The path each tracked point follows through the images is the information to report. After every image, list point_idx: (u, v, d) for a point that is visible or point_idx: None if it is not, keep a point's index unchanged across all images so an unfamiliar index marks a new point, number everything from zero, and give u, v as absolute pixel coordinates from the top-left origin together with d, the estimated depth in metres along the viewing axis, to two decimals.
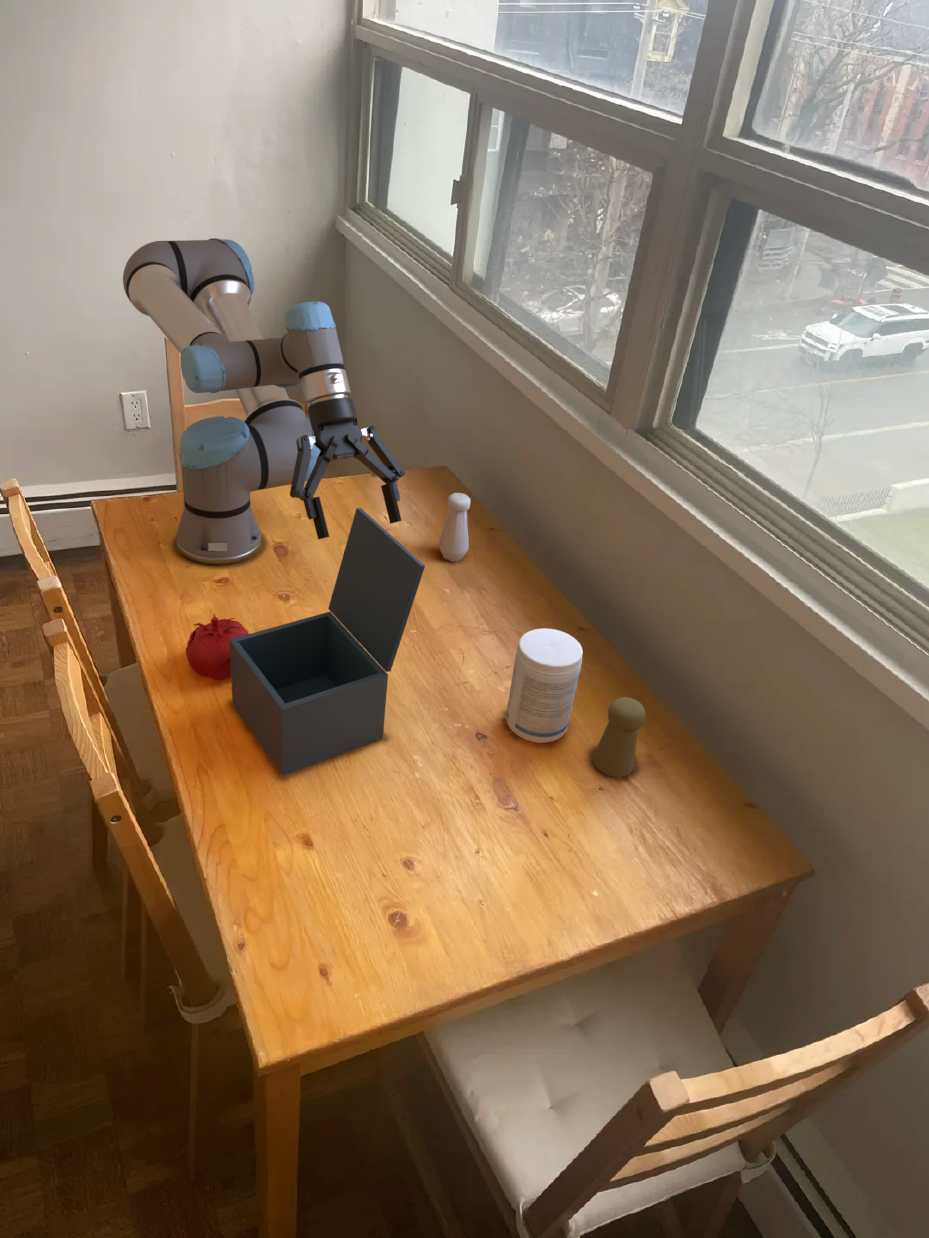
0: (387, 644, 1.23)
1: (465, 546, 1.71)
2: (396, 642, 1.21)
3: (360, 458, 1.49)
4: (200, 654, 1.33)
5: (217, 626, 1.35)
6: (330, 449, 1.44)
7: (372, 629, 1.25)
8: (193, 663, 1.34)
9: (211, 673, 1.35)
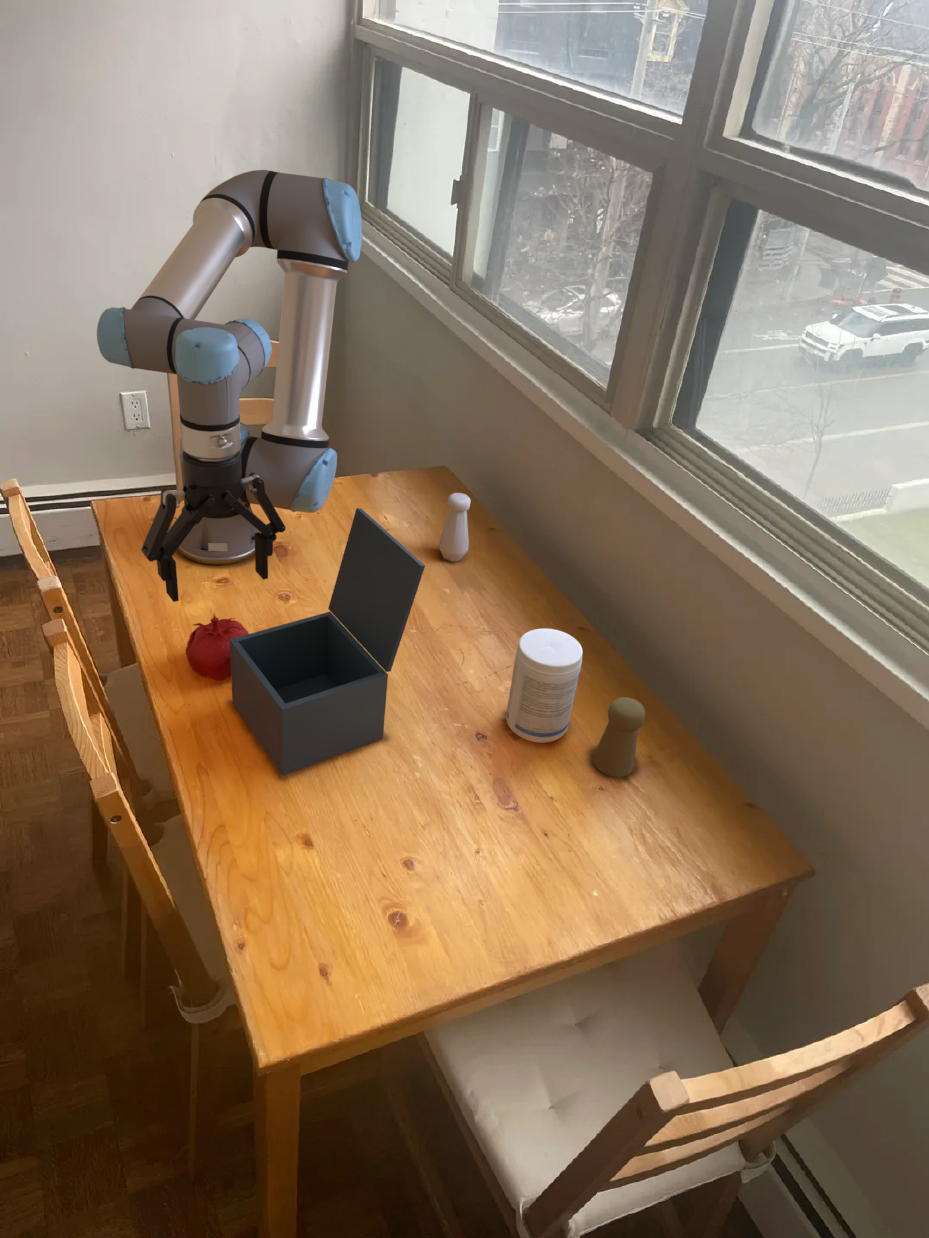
0: (387, 644, 1.23)
1: (465, 546, 1.71)
2: (396, 642, 1.21)
3: None
4: (200, 654, 1.33)
5: (217, 626, 1.35)
6: (200, 512, 1.21)
7: (372, 629, 1.25)
8: (193, 663, 1.34)
9: (211, 673, 1.35)
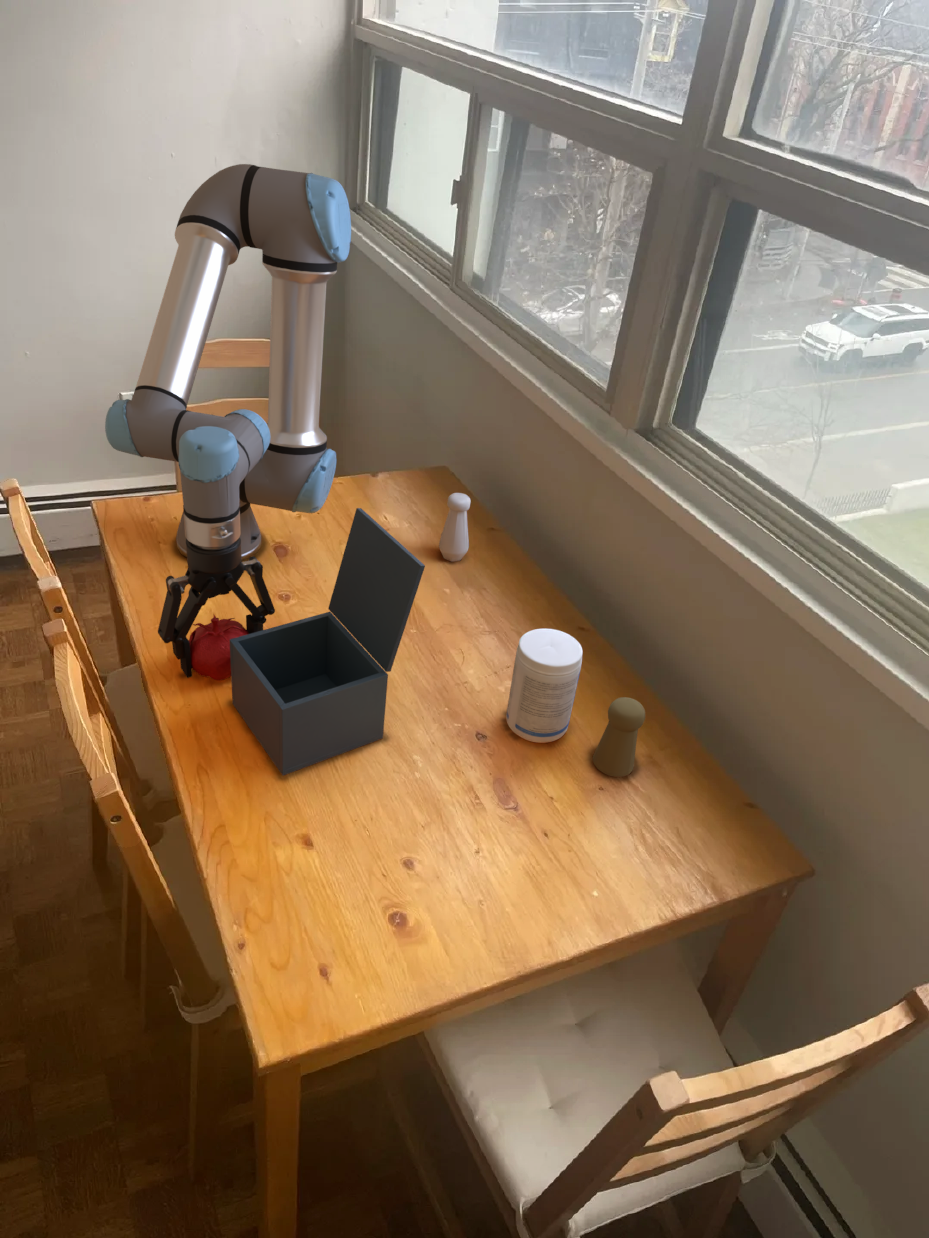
0: (387, 644, 1.23)
1: (465, 546, 1.71)
2: (396, 642, 1.21)
3: None
4: (200, 654, 1.33)
5: (217, 626, 1.35)
6: (204, 595, 1.29)
7: (372, 629, 1.25)
8: (193, 663, 1.34)
9: (211, 673, 1.35)
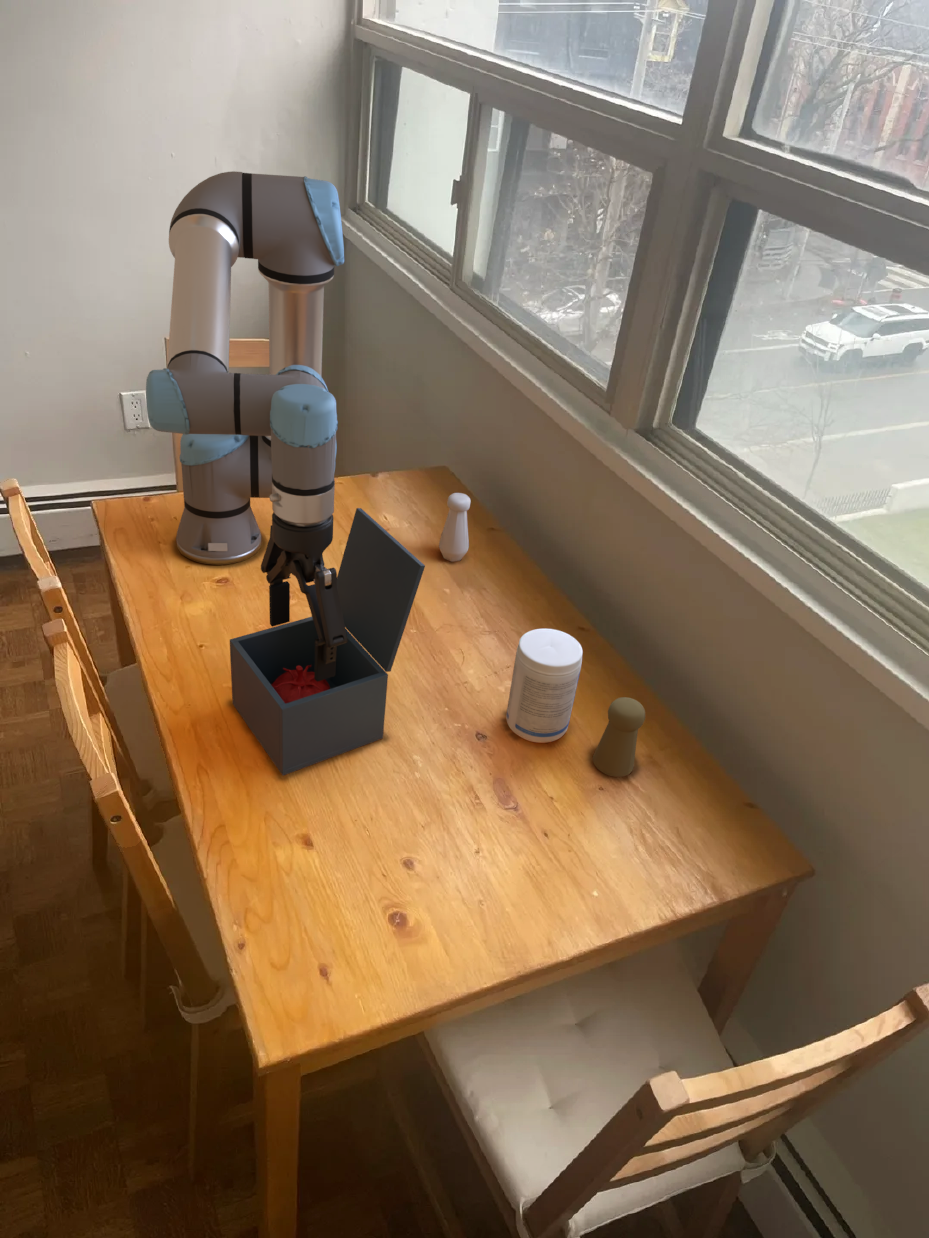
0: (387, 644, 1.23)
1: (465, 546, 1.71)
2: (396, 642, 1.21)
3: None
4: (275, 681, 1.29)
5: (298, 676, 1.26)
6: (280, 558, 1.17)
7: (372, 629, 1.25)
8: None
9: None
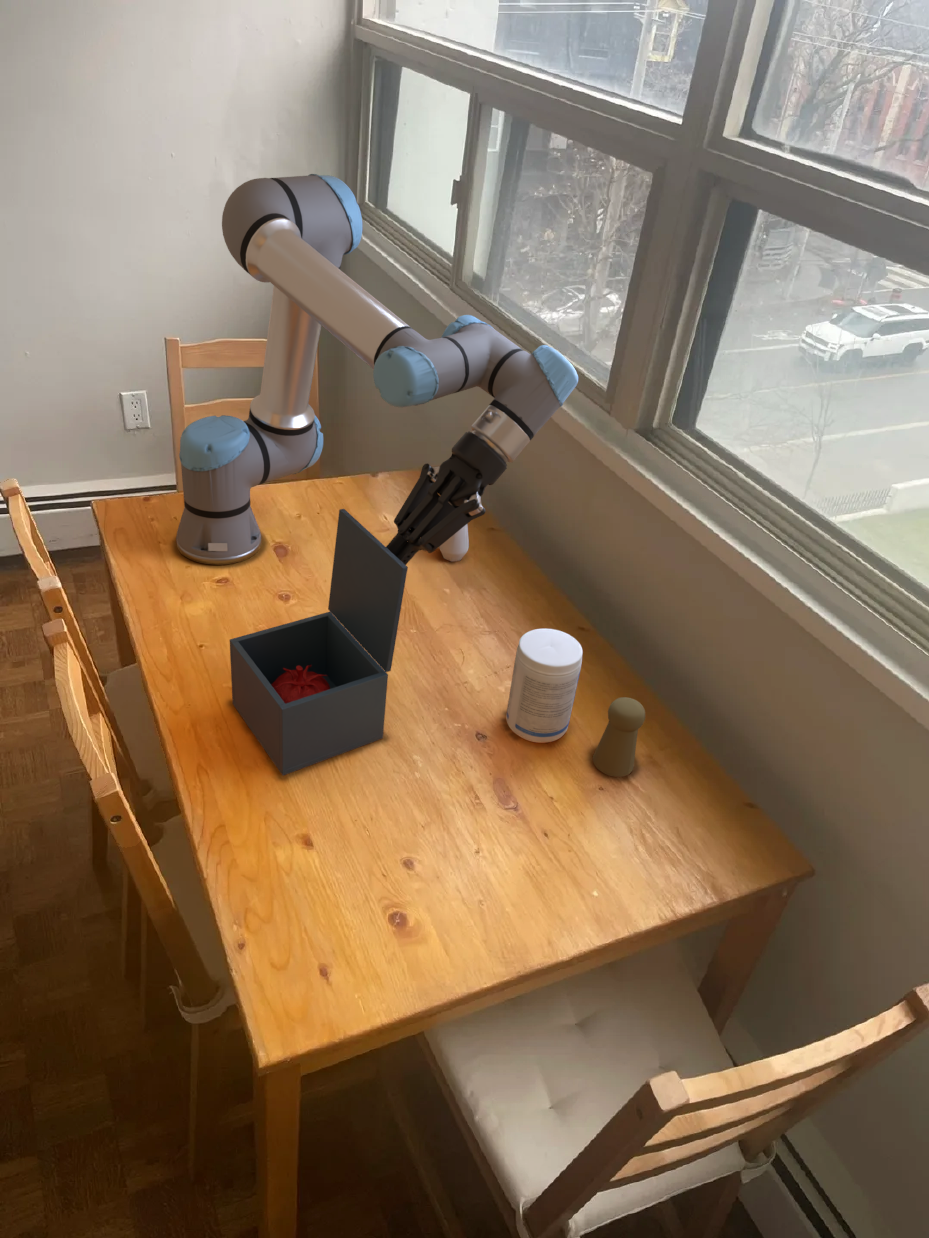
0: (383, 645, 1.22)
1: (465, 546, 1.71)
2: (391, 643, 1.21)
3: None
4: (275, 681, 1.29)
5: (298, 676, 1.26)
6: (436, 482, 1.24)
7: (368, 630, 1.25)
8: None
9: None
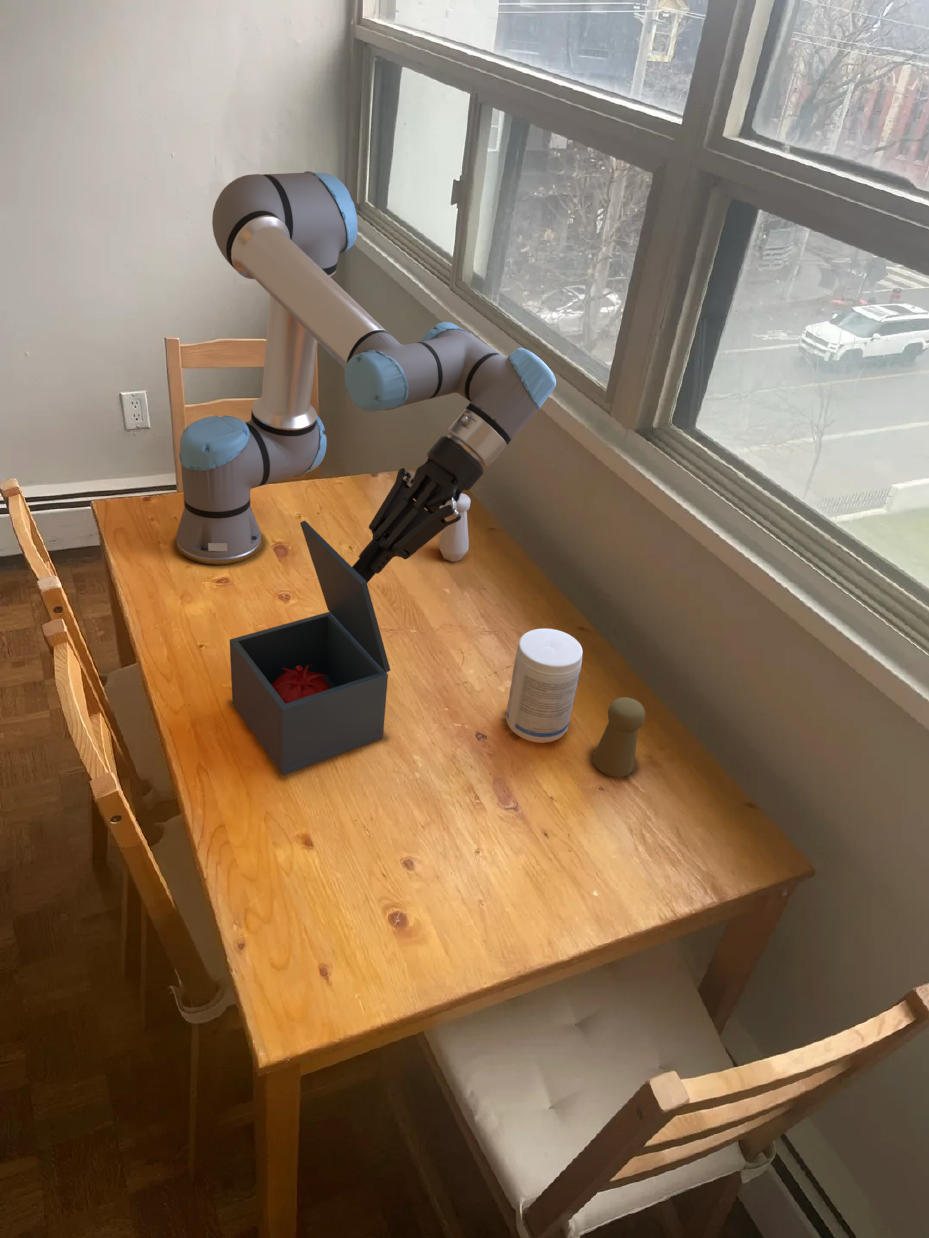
0: (375, 649, 1.22)
1: (465, 546, 1.71)
2: (380, 648, 1.20)
3: None
4: (275, 681, 1.29)
5: (298, 676, 1.26)
6: (412, 488, 1.22)
7: (360, 634, 1.24)
8: None
9: None
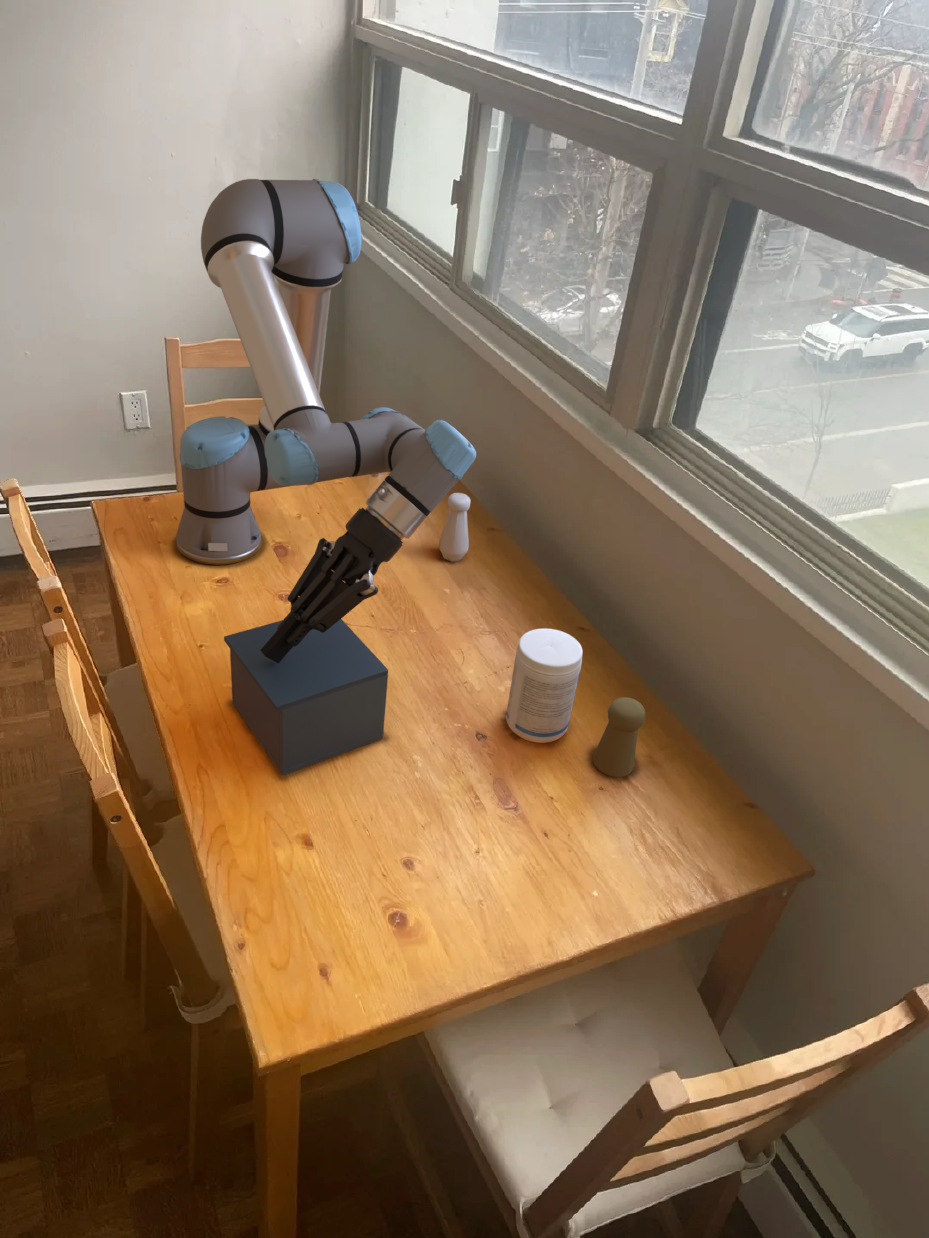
0: None
1: (465, 546, 1.71)
2: (357, 683, 1.21)
3: None
4: None
5: None
6: (330, 560, 1.20)
7: None
8: None
9: None
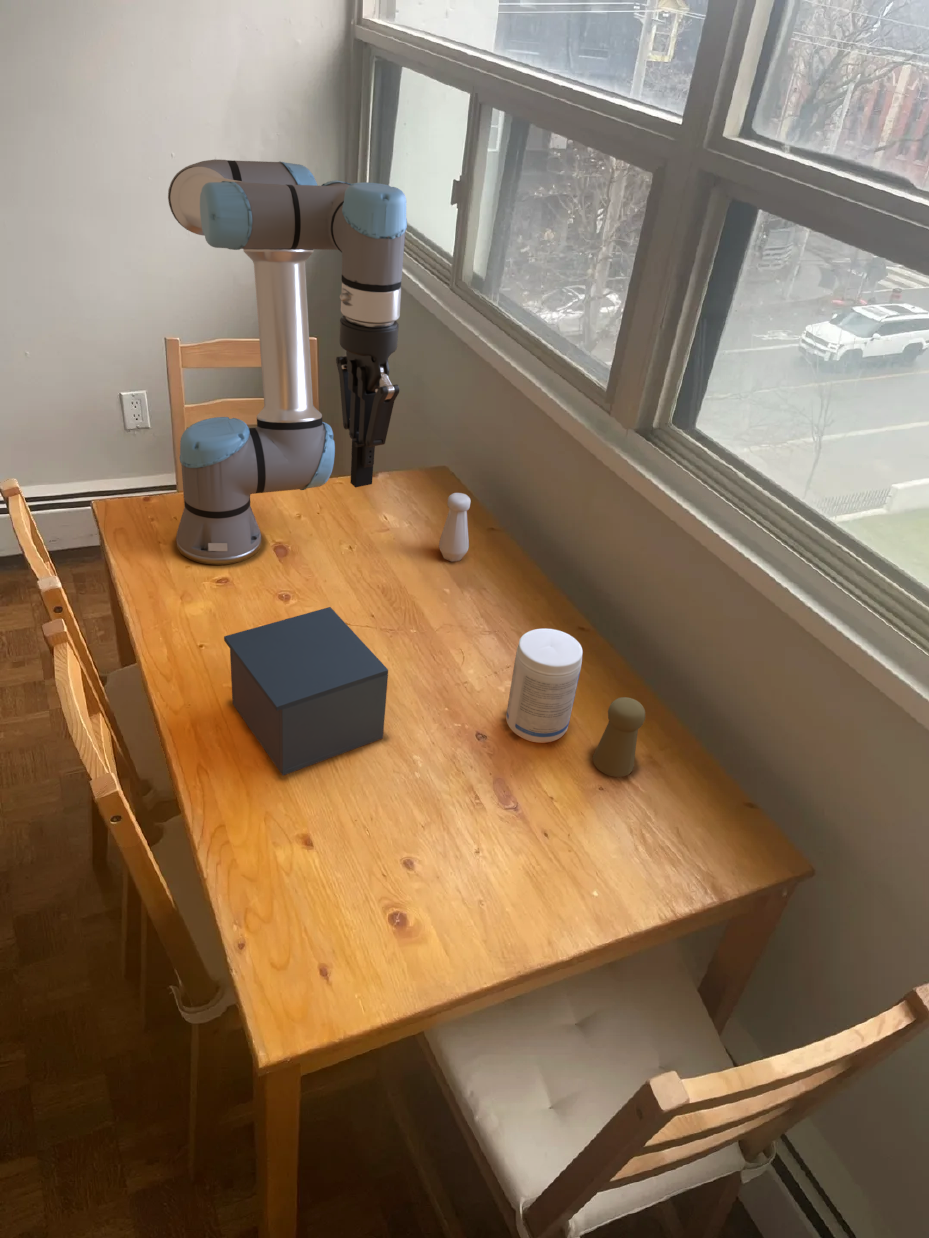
0: None
1: (465, 546, 1.71)
2: (357, 683, 1.21)
3: None
4: None
5: None
6: (349, 378, 1.20)
7: None
8: None
9: None
